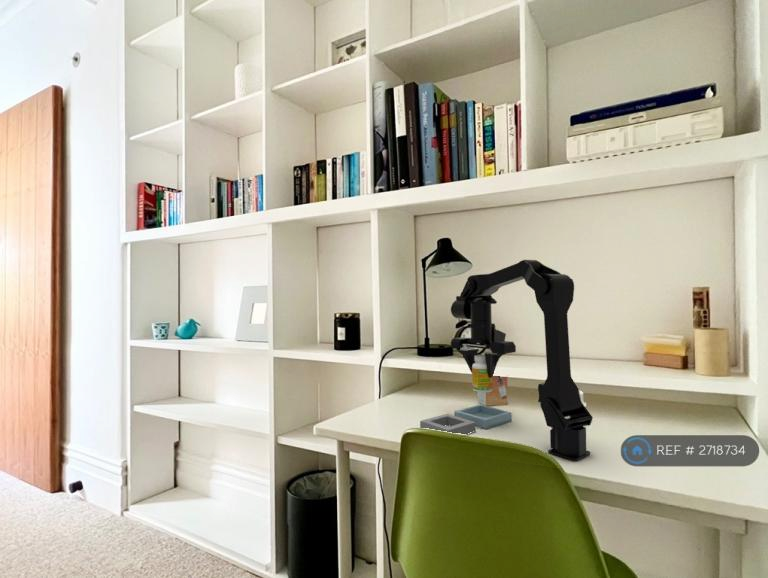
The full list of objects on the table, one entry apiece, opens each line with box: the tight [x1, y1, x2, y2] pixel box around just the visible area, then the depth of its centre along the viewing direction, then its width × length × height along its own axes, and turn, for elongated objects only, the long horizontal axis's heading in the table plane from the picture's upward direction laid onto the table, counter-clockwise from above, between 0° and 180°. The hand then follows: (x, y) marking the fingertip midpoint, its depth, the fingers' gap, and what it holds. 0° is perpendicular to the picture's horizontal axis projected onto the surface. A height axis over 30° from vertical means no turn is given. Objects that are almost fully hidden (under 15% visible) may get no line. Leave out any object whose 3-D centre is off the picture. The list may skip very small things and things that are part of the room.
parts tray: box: [454, 404, 513, 430], centre depth 119 cm, size 11×11×2 cm
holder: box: [419, 413, 477, 435], centre depth 111 cm, size 10×10×2 cm
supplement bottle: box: [471, 354, 492, 393], centre depth 119 cm, size 5×5×10 cm
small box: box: [477, 376, 509, 407], centre depth 138 cm, size 8×6×10 cm
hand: (482, 376), depth 119 cm, fingers closed on supplement bottle, 5 cm apart
